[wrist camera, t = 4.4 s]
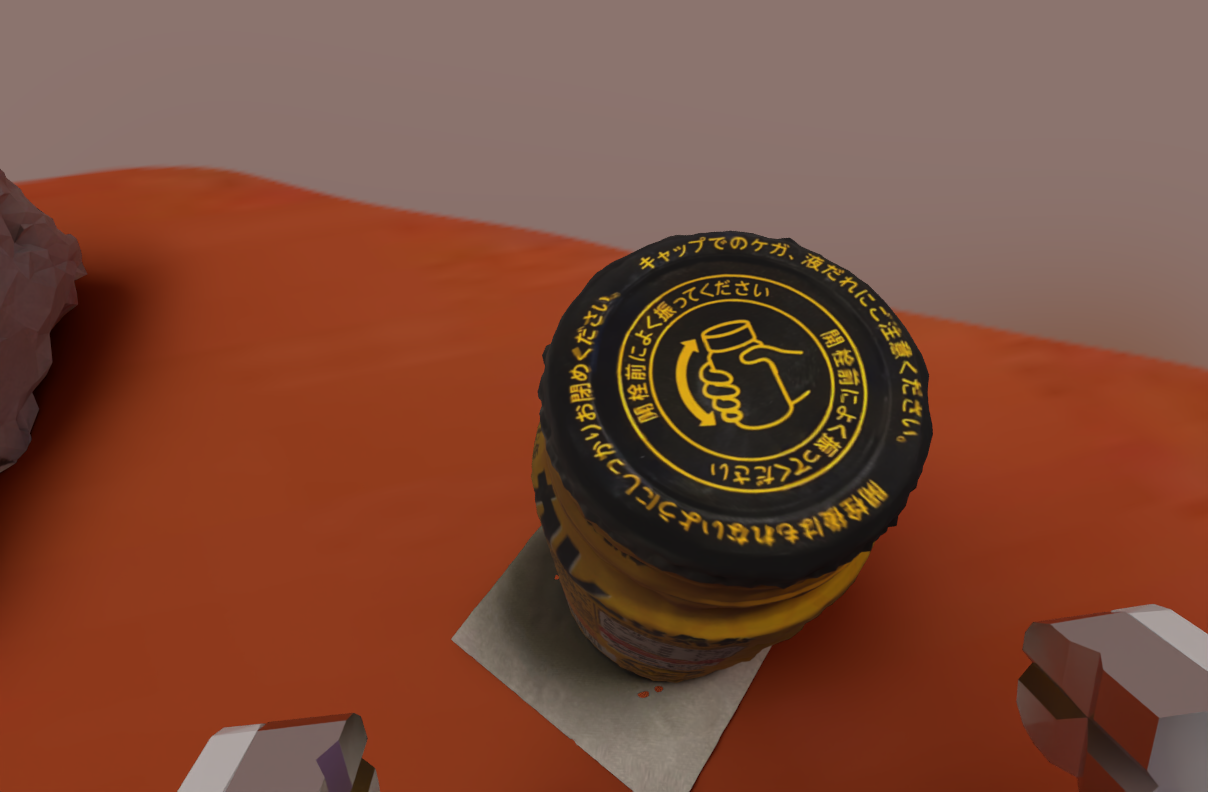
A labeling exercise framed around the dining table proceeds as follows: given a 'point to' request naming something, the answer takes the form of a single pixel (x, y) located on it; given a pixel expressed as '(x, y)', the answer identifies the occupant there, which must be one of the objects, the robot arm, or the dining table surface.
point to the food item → (29, 309)
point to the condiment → (698, 490)
